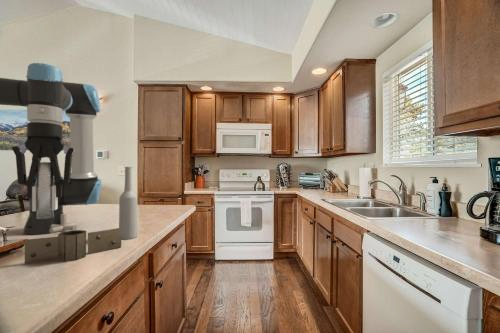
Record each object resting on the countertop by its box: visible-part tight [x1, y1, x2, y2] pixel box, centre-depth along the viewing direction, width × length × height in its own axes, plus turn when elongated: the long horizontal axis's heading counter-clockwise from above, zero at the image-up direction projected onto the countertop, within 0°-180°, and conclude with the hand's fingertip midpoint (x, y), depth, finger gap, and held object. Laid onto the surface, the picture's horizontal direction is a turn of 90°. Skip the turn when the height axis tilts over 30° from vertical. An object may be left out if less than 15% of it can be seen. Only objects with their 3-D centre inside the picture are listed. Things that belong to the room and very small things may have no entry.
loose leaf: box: [87, 227, 122, 254], centre depth 87 cm, size 10×1×6 cm, turn 135°
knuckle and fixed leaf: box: [24, 229, 87, 265], centre depth 79 cm, size 7×15×8 cm, turn 116°
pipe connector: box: [49, 213, 78, 234], centre depth 99 cm, size 10×10×10 cm
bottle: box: [118, 166, 138, 240], centre depth 104 cm, size 7×7×28 cm
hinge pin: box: [36, 161, 54, 219], centre depth 71 cm, size 4×4×15 cm
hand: (45, 209), depth 71 cm, fingers closed on hinge pin, 3 cm apart
